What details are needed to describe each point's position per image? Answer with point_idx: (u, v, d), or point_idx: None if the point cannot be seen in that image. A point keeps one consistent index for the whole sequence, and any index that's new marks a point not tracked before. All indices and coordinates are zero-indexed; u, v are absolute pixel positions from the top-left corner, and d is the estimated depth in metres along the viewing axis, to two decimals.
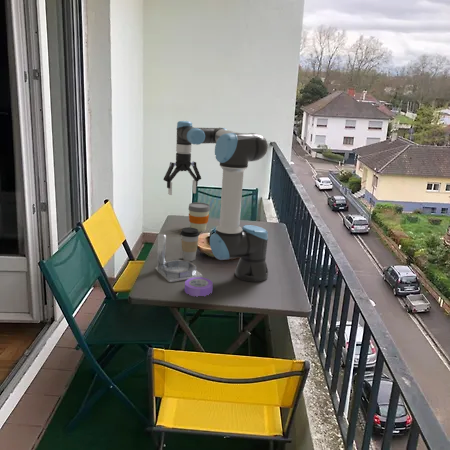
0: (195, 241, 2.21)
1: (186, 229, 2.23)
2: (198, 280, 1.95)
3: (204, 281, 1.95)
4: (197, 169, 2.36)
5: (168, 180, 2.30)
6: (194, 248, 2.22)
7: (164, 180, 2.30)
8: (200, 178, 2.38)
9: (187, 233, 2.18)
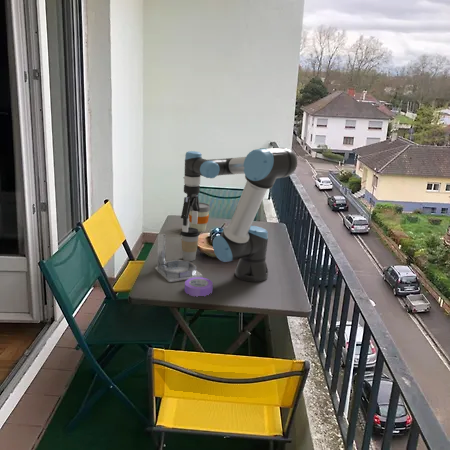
0: (195, 241, 2.21)
1: None
2: (198, 280, 1.95)
3: (204, 281, 1.95)
4: (198, 199, 2.25)
5: None
6: (194, 248, 2.22)
7: None
8: (199, 207, 2.28)
9: (187, 233, 2.18)
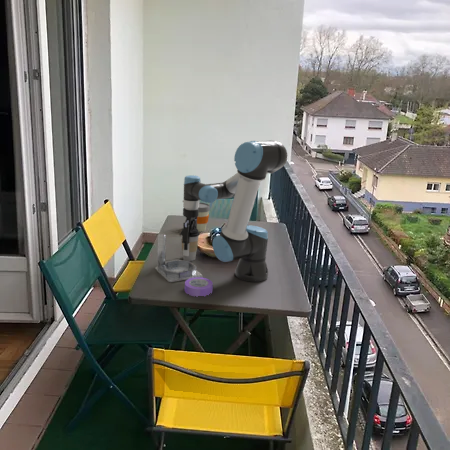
0: (195, 241, 2.21)
1: None
2: (198, 280, 1.95)
3: (204, 281, 1.95)
4: (196, 224, 2.28)
5: None
6: (194, 248, 2.22)
7: None
8: None
9: None
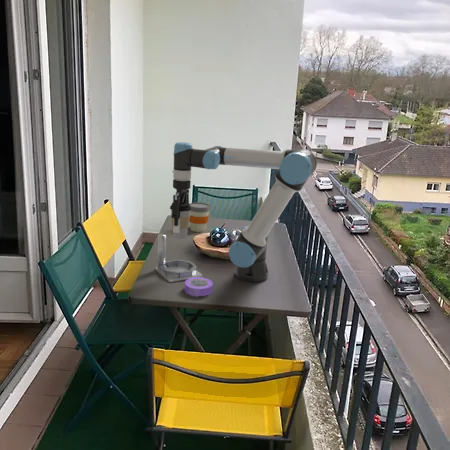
0: (186, 216, 1.98)
1: None
2: (198, 280, 1.95)
3: (204, 281, 1.95)
4: (188, 198, 2.05)
5: None
6: (185, 224, 2.00)
7: (173, 217, 1.94)
8: None
9: None
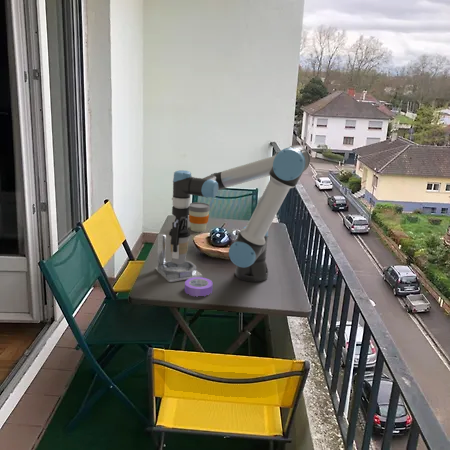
0: (185, 242, 2.02)
1: None
2: (198, 280, 1.95)
3: (204, 281, 1.95)
4: (187, 224, 2.09)
5: None
6: (184, 250, 2.03)
7: (172, 244, 1.97)
8: None
9: None
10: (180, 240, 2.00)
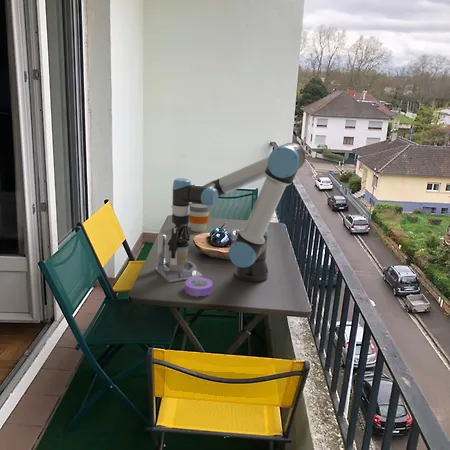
0: (184, 252, 2.01)
1: None
2: (198, 280, 1.95)
3: (204, 281, 1.95)
4: None
5: None
6: (182, 260, 2.02)
7: (170, 250, 1.96)
8: (189, 237, 2.13)
9: None
10: (179, 250, 2.00)
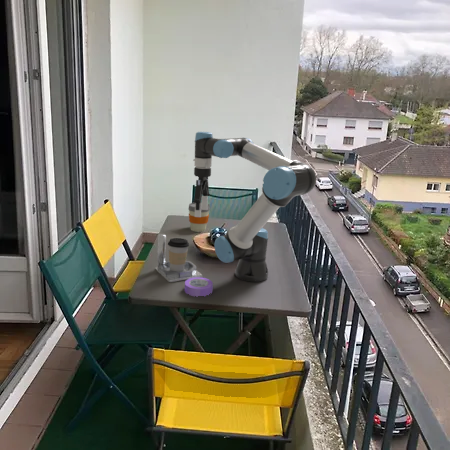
0: (184, 252, 2.01)
1: (174, 239, 2.04)
2: (198, 280, 1.95)
3: (204, 281, 1.95)
4: None
5: None
6: (183, 260, 2.02)
7: (195, 202, 1.99)
8: (208, 192, 2.17)
9: (175, 243, 1.99)
10: (179, 250, 2.00)
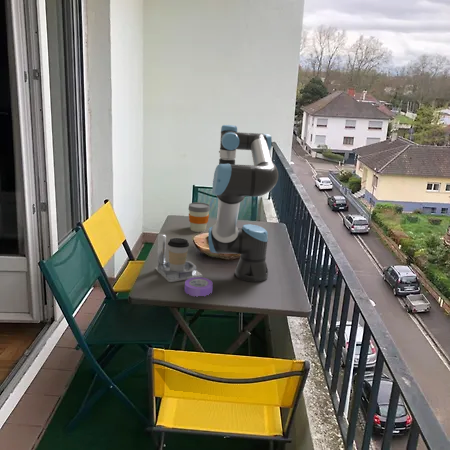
0: (184, 252, 2.01)
1: (174, 239, 2.04)
2: (198, 280, 1.95)
3: (204, 281, 1.95)
4: None
5: None
6: (183, 260, 2.02)
7: None
8: None
9: (175, 243, 1.99)
10: (179, 250, 2.00)
